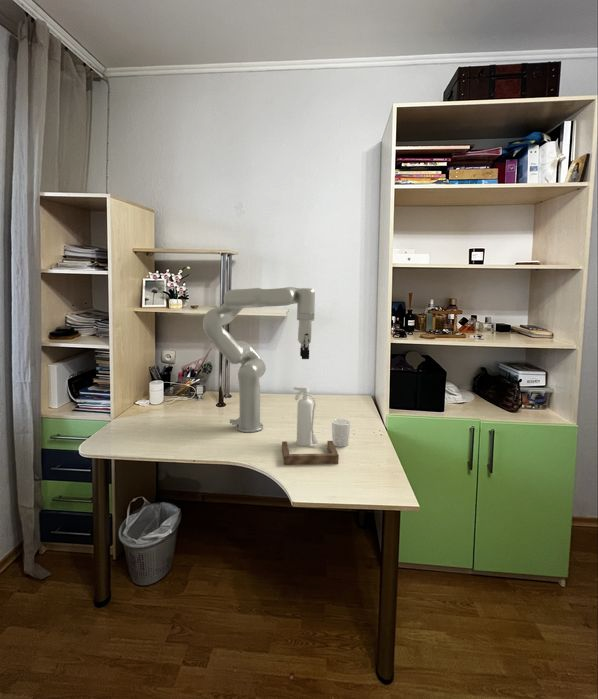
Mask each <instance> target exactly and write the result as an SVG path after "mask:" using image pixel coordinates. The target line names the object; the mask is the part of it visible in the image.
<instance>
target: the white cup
mask: <svg viewBox="0 0 598 699" xmlns="http://www.w3.org/2000/svg"><path fill="white" fill-rule="evenodd" d="M350 432H351V421H350V420H349V419H344V418H335V419H333V420H331V438H332V439H331V441H333V444H334V446H335V447H338V448H339V447H341V448H343V447H347V446H348V445H349V439H350Z"/></svg>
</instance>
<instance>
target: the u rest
mask: <svg viewBox="0 0 598 699" xmlns="http://www.w3.org/2000/svg"><path fill="white" fill-rule="evenodd" d="M326 445H327V446H326V447H327V448H326V449H327V452H328V453H327V452H326V453H325V452H324V453H290V451H289V447H288V446H289V445H288V441H286V440H285V441H281V452H282V459H283V465H284V466H289V465H290V466H292V465H293V466H295V465H298V466H299V465H303V466H305V465H338V464H339V462H340V461H339V459H340V455H339V452H338V450H337V448H336V446H335V445H334V444H333V441H332V440H327V444H326Z"/></svg>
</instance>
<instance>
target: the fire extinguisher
mask: <svg viewBox="0 0 598 699" xmlns="http://www.w3.org/2000/svg"><path fill="white" fill-rule="evenodd" d="M293 390H295V391H298V392H297V393H296V394H295V397H294V400H295V401H297V410H296V411H297V416H296V420H297V422H296V444H297V445H298V446H301V447H309V446H311V445H314V446H315V445H318V444H319V443H318V439H317V436H316V434H315V433H314V420H315V419H314V418H315V409H316V398H315V397H314V396H313V395H312V394H310V393H309V392H310V391H311V390H310V387H309V386H300V385H299V386H297V385H296V386H293ZM301 395H302V398H301V399H300V397H301ZM309 398H311V399H313V401H312V400H311V399H309Z"/></svg>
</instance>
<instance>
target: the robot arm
mask: <svg viewBox="0 0 598 699" xmlns="http://www.w3.org/2000/svg"><path fill="white" fill-rule="evenodd" d="M315 299H316V290H315V289H314V288H311V287H310V288H309V287H307V288H305V287H304V288H303V287H302V288H301V287H299V288H298V287H295V286H287V287H282V288H281V287H280V288H279V287H278V288H260V287H256V288H255V287H253V288H241V289H240V288H236V289H229V290H228V291H226V292H225V293H224V295H223V304H221V306H219V307H214V308H211V309H209V310H208V311H207V312H206V313H205V314H204V316H203V318H202V328H203V331H204V333H205V335H206V337H207V338H208V339H209V340H210V341H211V342H212V344H213V345H214V346H215V347H216V348H217V350H218V351H219V352H220V353H221V354H222V356H224V358H225V359H226V360H227V361H228V362H229V363H230V364H232V365H238V364H241V365H240V367H239V368H238V372H237V379H238V384H239V386H238V389H239V394H238V395H239V417H238V418H236V419H233V418H231V419H229V424H231V425H232V426H234V425H235V429H236V430H237V431H239V432H241V433H257V432H260V431H261V430H263V429H264V424H263V423H261V385H260V378H261V377H262V376H264V374H265V373H266V370H267V368H266V363H265V361H264V360H263V359H262V358H261V356H259V354H258V353H257V351H255V350H254V348H253V347H252V346H251V345H250V344H249V343H247V342H246V341H244V340H238V341H237V340H235V338H234V337H233V336H232V334H230V333H229V331H228V330H226V329H225V328H224V327H223V326H225V325H229V324H230V323H231V322H232V321H234V319H235V318H236V317H237V316H238V315H239V313H240V312H242V310H243V309H247V308H248V309H249V308H250V309H251V308H264V307H266V308H267V307H285V306H290V305H294V304H295V305H296V304H297V305H296V306H297V307H296V309H297V310H296V312H297V313H296V320H297V321H298V330H297V331H298V332H297V341H298V343H299V344H300V348H299V349H300V350H299V354H300V355H299V356H300V357H301V360H309V359H310V344H311V343H312V325H313V324H312V322H313V321H315V307H316V306H315V305H316V300H315Z"/></svg>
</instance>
